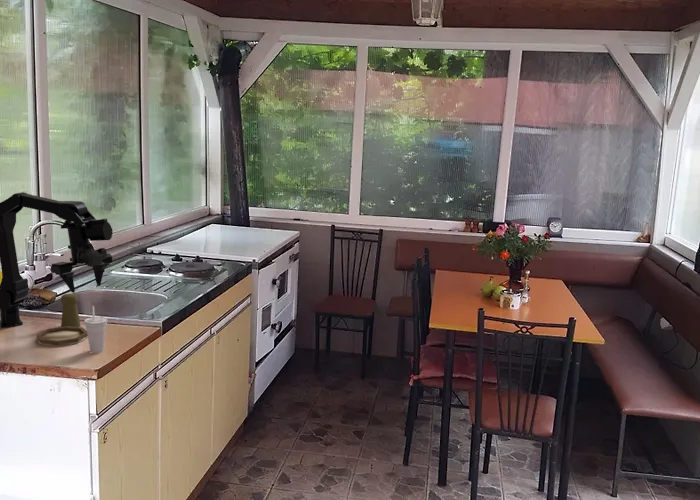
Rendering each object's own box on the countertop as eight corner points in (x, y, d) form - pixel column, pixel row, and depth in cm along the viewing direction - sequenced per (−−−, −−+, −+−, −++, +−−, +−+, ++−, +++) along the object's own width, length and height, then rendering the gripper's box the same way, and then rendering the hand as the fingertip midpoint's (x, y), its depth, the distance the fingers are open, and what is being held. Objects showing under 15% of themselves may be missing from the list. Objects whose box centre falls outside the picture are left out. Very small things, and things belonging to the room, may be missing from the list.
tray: (33, 335, 203) (33, 330, 202) (80, 328, 211) (80, 323, 210) (43, 349, 192) (43, 344, 191) (92, 341, 200) (91, 336, 200)
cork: (84, 324, 215) (82, 292, 213) (74, 329, 210) (73, 297, 207) (66, 322, 216) (65, 291, 214) (57, 328, 210) (55, 296, 208)
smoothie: (85, 348, 194) (83, 303, 191) (108, 346, 196) (106, 302, 193) (85, 355, 188) (83, 309, 185) (108, 353, 190) (106, 308, 188)
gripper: (66, 248, 192) (74, 298, 195) (120, 237, 207) (126, 284, 210) (46, 246, 198) (53, 295, 201) (99, 236, 213) (105, 281, 216)
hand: (86, 289), depth 207 cm, fingers open, 9 cm apart
